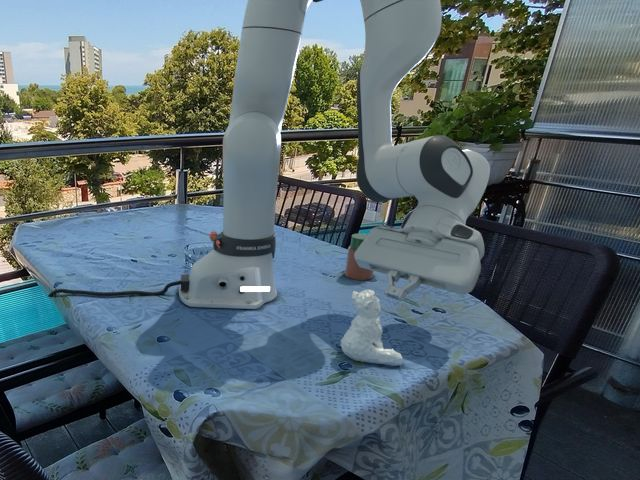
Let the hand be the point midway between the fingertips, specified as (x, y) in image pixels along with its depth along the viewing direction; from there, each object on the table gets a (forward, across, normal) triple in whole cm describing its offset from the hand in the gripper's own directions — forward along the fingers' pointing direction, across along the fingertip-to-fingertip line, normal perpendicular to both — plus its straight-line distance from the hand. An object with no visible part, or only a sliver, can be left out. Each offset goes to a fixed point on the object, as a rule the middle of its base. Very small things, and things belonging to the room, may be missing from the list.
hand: (393, 297), depth 82 cm
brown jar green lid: (-13, -21, +25) cm, 35 cm away
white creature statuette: (+12, +1, 0) cm, 12 cm away
